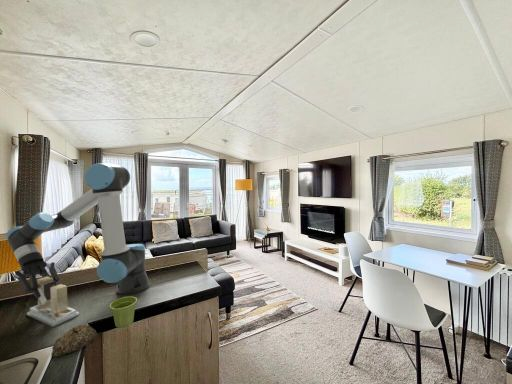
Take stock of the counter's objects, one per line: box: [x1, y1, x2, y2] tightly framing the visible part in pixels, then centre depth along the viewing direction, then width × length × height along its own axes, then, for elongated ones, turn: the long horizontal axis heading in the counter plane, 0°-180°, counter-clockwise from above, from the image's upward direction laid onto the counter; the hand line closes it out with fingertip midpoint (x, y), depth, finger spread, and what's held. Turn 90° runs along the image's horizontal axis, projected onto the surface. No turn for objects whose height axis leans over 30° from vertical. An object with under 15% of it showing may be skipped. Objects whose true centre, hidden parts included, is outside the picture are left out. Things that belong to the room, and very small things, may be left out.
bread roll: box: [51, 324, 98, 358], centre depth 80 cm, size 13×12×5 cm
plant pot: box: [109, 296, 138, 329], centre depth 89 cm, size 9×9×9 cm
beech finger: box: [36, 276, 53, 309], centre depth 97 cm, size 5×4×12 cm
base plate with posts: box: [26, 283, 80, 328], centre depth 95 cm, size 20×9×13 cm, turn 66°
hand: (50, 300), depth 96 cm, fingers closed on beech finger, 3 cm apart
